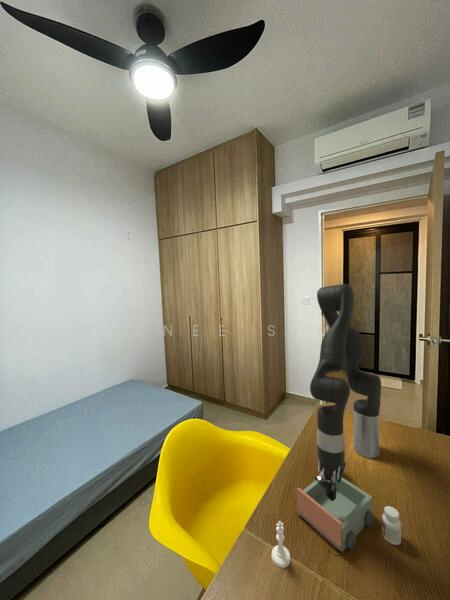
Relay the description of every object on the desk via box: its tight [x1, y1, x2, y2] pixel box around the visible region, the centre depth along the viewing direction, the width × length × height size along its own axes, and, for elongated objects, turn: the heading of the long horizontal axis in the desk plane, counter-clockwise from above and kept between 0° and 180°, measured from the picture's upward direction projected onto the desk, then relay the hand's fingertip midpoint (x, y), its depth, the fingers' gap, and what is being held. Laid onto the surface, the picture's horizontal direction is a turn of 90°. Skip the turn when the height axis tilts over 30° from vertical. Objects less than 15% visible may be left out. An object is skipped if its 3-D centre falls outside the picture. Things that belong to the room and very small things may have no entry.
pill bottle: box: [381, 505, 402, 546], centre depth 68 cm, size 4×4×8 cm
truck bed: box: [302, 477, 375, 552], centre depth 76 cm, size 16×16×6 cm
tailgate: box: [296, 487, 342, 552], centre depth 71 cm, size 1×14×7 cm, turn 35°
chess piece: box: [271, 520, 291, 568], centre depth 65 cm, size 5×5×10 cm
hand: (331, 498), depth 74 cm, fingers closed
